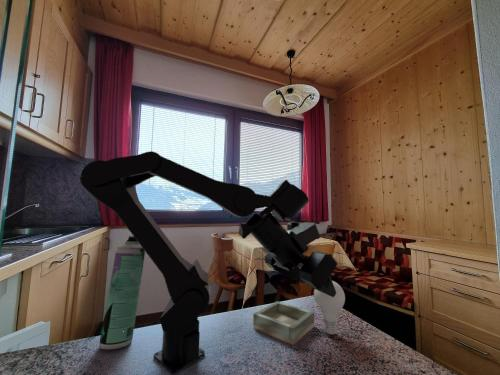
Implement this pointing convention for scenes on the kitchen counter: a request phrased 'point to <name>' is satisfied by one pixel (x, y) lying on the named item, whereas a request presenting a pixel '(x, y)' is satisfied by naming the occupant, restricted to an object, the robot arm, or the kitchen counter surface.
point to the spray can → (123, 296)
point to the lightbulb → (330, 307)
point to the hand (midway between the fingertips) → (318, 287)
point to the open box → (284, 321)
